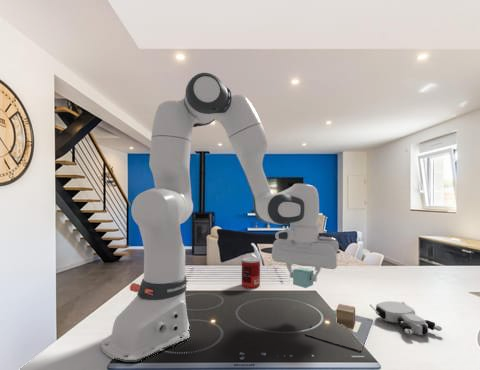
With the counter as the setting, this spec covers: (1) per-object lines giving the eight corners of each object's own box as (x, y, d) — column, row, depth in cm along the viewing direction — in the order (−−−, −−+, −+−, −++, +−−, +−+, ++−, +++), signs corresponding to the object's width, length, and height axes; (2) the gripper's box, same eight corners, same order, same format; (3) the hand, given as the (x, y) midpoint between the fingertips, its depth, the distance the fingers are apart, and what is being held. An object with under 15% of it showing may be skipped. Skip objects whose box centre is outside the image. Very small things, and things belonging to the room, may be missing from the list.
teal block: (305, 288, 80) (306, 272, 80) (293, 284, 83) (293, 269, 83) (313, 284, 83) (313, 270, 83) (300, 281, 86) (300, 267, 86)
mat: (361, 352, 63) (361, 350, 63) (304, 334, 71) (304, 333, 71) (373, 320, 80) (373, 319, 80) (326, 309, 87) (326, 308, 87)
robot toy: (445, 340, 71) (400, 312, 86) (446, 323, 71) (401, 298, 86) (406, 344, 68) (367, 315, 83) (407, 327, 68) (368, 301, 83)
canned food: (260, 283, 114) (260, 257, 115) (259, 289, 106) (259, 261, 107) (242, 282, 115) (242, 256, 116) (240, 288, 107) (241, 261, 108)
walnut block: (353, 329, 73) (353, 312, 74) (336, 325, 76) (336, 309, 76) (355, 322, 77) (355, 306, 78) (339, 319, 80) (339, 303, 80)
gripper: (339, 236, 82) (339, 282, 81) (276, 231, 91) (275, 272, 90) (337, 239, 76) (337, 288, 76) (270, 233, 85) (269, 276, 84)
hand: (303, 279), depth 83 cm, fingers closed on teal block, 5 cm apart
